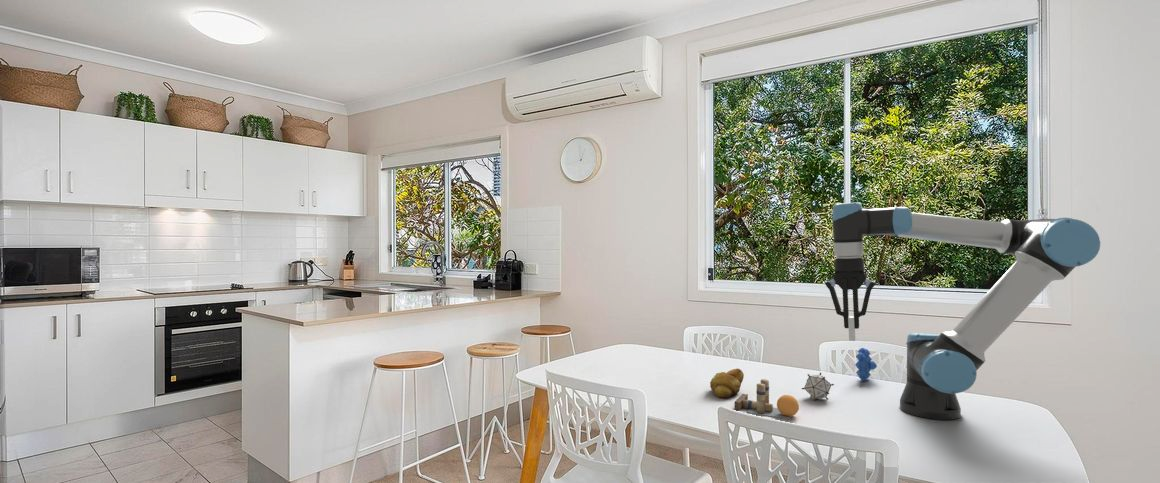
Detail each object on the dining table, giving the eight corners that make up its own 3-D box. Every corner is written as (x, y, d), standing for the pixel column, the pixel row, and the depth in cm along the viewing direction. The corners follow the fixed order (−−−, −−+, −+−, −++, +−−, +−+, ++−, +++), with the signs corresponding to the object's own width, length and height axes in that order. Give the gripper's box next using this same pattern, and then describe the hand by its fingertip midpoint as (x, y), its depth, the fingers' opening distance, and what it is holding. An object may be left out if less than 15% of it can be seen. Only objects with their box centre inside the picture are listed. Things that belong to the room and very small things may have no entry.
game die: (823, 412, 171) (838, 392, 165) (797, 401, 173) (811, 381, 167) (823, 391, 178) (838, 372, 172) (798, 381, 180) (811, 361, 174)
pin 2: (770, 407, 164) (769, 379, 164) (768, 410, 162) (767, 382, 162) (761, 406, 166) (761, 378, 165) (759, 408, 164) (759, 380, 163)
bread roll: (731, 401, 171) (731, 376, 170) (702, 396, 176) (702, 371, 176) (745, 391, 181) (745, 367, 181) (718, 386, 187) (718, 363, 187)
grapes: (872, 386, 185) (873, 351, 184) (851, 383, 189) (851, 349, 189) (881, 379, 193) (881, 346, 193) (860, 376, 198) (860, 343, 198)
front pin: (773, 402, 161) (744, 398, 166) (771, 405, 159) (742, 400, 164) (773, 411, 162) (744, 406, 166) (771, 413, 159) (742, 408, 164)
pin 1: (766, 412, 160) (766, 384, 160) (764, 415, 158) (764, 386, 158) (757, 411, 161) (757, 383, 161) (755, 413, 159) (755, 385, 159)
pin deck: (794, 411, 161) (794, 410, 161) (789, 419, 154) (789, 419, 154) (753, 404, 167) (753, 404, 167) (746, 412, 160) (746, 411, 160)
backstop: (747, 402, 170) (747, 394, 170) (739, 410, 162) (739, 402, 162) (742, 401, 170) (742, 393, 170) (734, 409, 163) (734, 401, 163)
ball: (776, 406, 162) (797, 414, 159) (772, 414, 157) (794, 423, 154) (781, 388, 161) (802, 396, 158) (778, 396, 155) (799, 404, 153)
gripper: (874, 255, 154) (878, 338, 155) (824, 256, 161) (828, 336, 161) (874, 257, 148) (878, 343, 148) (822, 258, 154) (826, 341, 154)
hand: (852, 339), depth 155 cm, fingers closed
